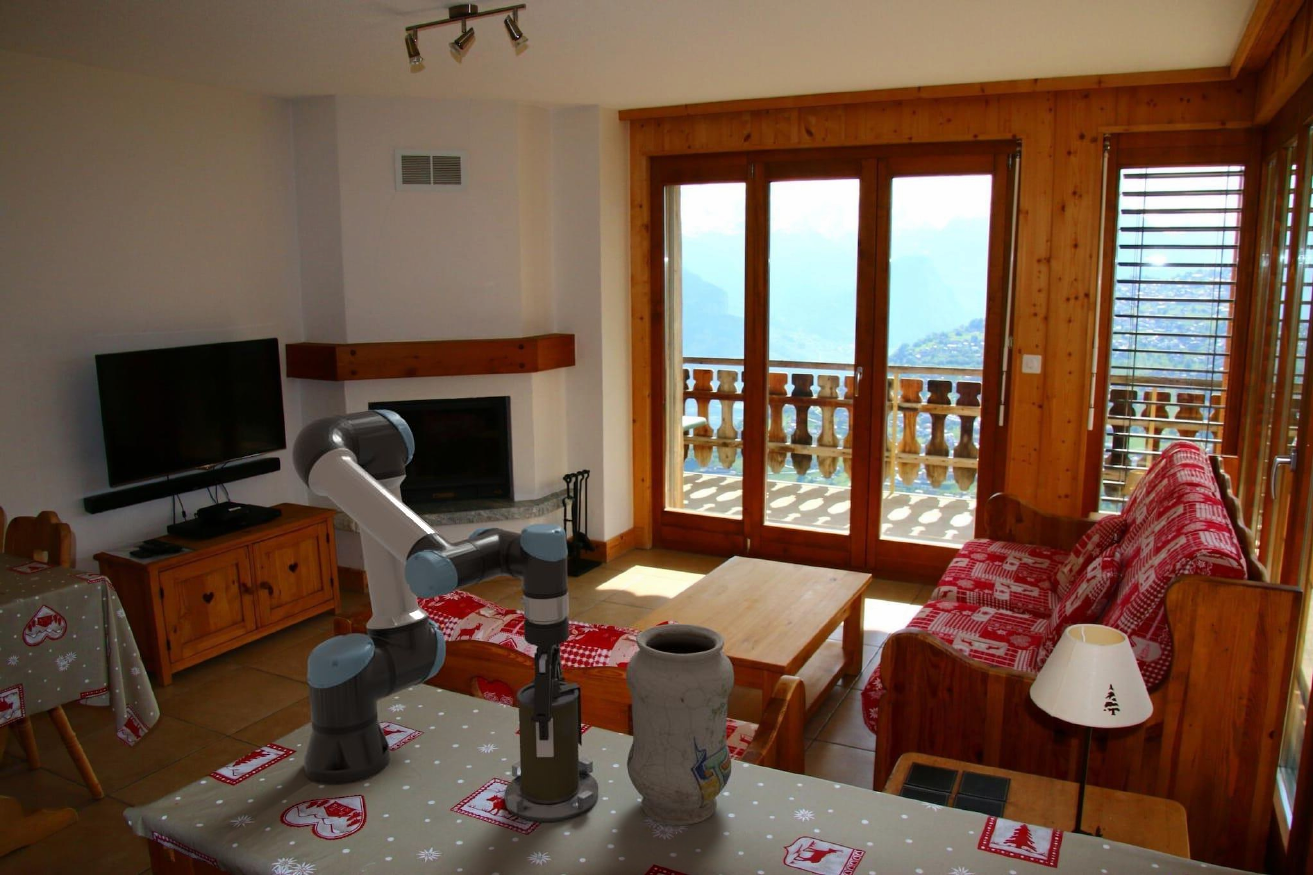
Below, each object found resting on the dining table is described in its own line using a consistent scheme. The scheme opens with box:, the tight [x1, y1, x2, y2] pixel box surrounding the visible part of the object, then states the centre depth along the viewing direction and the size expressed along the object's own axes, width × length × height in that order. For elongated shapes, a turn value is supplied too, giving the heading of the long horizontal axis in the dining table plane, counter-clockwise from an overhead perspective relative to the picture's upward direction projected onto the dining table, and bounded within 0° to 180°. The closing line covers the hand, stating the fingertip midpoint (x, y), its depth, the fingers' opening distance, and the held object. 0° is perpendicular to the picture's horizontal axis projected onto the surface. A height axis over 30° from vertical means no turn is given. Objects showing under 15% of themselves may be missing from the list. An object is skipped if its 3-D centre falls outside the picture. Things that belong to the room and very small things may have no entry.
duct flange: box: [504, 756, 599, 824], centre depth 165 cm, size 18×18×4 cm
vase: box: [625, 623, 735, 826], centre depth 159 cm, size 18×18×30 cm
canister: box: [516, 677, 583, 804], centre depth 163 cm, size 11×10×20 cm
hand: (550, 737), depth 163 cm, fingers open, 12 cm apart
